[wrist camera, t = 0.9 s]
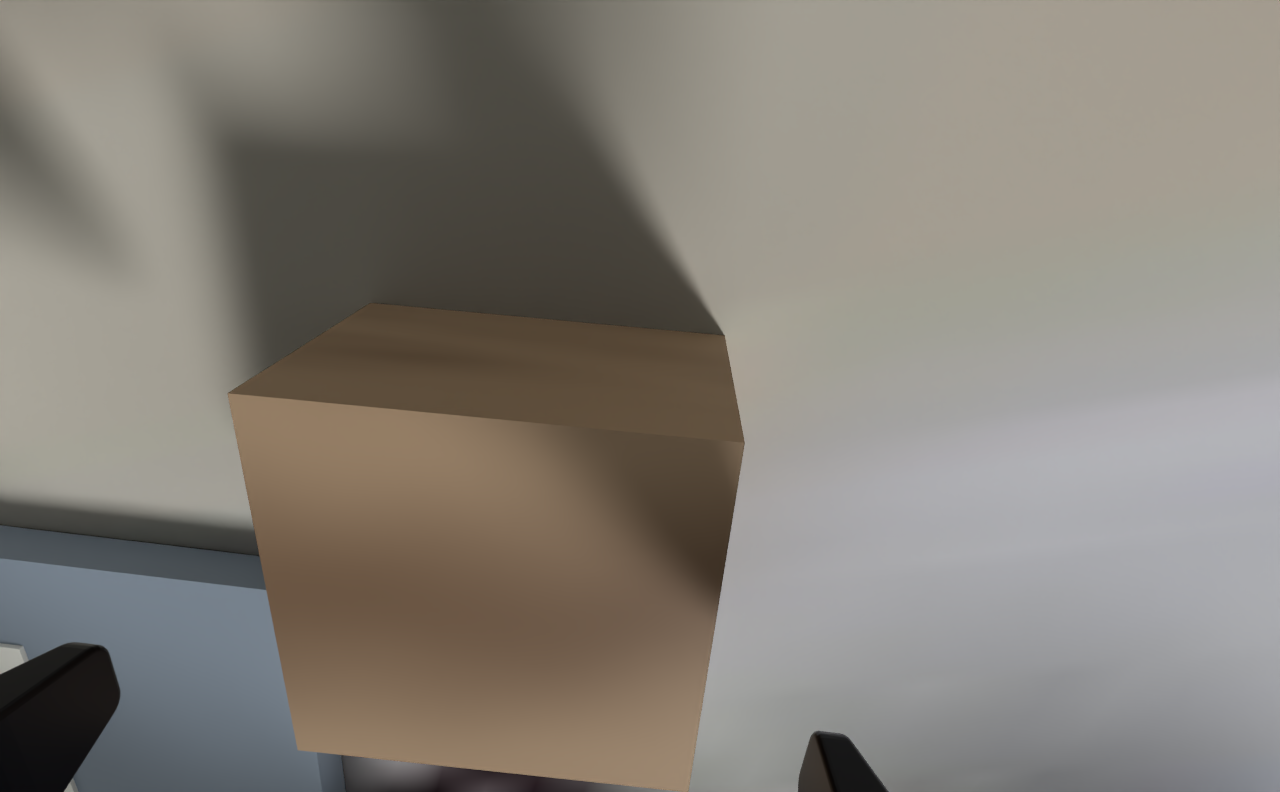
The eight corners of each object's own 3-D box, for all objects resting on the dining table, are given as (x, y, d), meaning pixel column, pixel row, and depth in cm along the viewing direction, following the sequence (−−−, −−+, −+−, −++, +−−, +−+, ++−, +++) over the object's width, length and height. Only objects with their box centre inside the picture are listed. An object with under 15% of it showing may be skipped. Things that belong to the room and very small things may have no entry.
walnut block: (686, 607, 15) (688, 792, 11) (400, 578, 15) (297, 750, 11) (724, 332, 12) (744, 442, 8) (375, 300, 12) (227, 393, 8)
